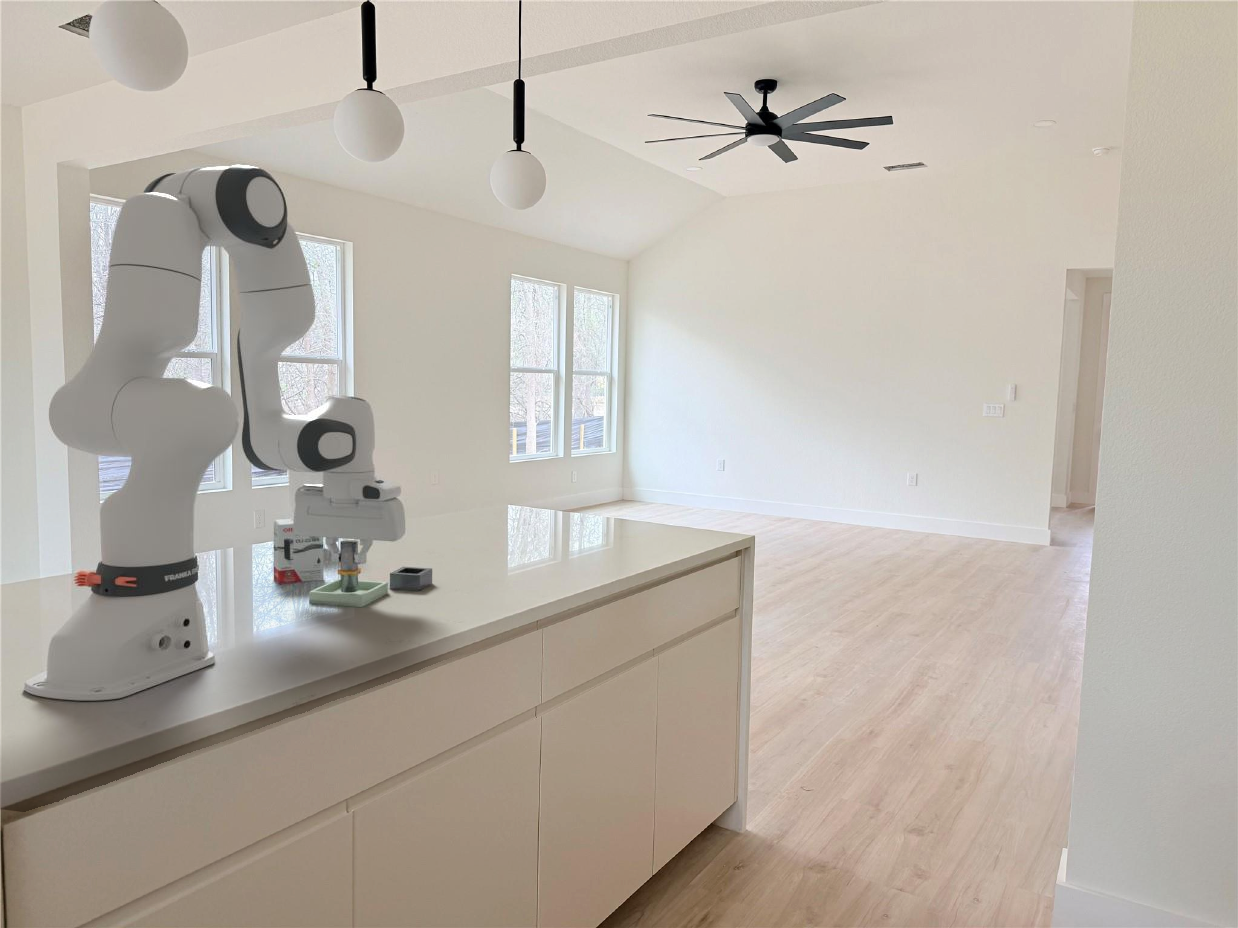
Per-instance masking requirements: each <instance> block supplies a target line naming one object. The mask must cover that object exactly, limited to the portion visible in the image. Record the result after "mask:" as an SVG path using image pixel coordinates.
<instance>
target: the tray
mask: <svg viewBox="0 0 1238 928" xmlns="http://www.w3.org/2000/svg"><path fill="white" fill-rule="evenodd" d="M388 585H389V583H388V581H387V582H386V581H384V582H383V581H373V580H359V579H358V591H357V592H352V593H344V592H341V578H336V579H334V580H332V581H330V582H328V583H325V584H324V585H321V586H319V587H316V588H314V589H312V590H310V591H309V592H308V595H309V596H308V602H309V604H317V605H319V604H320V605H331V606H341V607H342V606H344V607H345V606H346V607H358V608H363V607H365V606H366V605H368V604H370V603H373V602H374V601H376V600H377V599H379V598H381V597H383V596H385V595H387V594H389V586H388Z"/></svg>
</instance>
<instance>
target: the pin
mask: <svg viewBox="0 0 1238 928" xmlns="http://www.w3.org/2000/svg"><path fill="white" fill-rule="evenodd" d="M339 550H340V555H341V562H340V568H337V574H338V575H340V579H341V592H344V593H352V592H357V591H358V580H359V574H361V573H362V569H361V567H359V564H355V562H354V560H355V558H354V554H357V553H359V541H358V540H357V539H346V540H345V539H344V540H342V541H340V549H339Z"/></svg>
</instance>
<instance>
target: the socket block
mask: <svg viewBox="0 0 1238 928" xmlns="http://www.w3.org/2000/svg"><path fill="white" fill-rule="evenodd" d="M432 584H433V568H429V567H428V568H427V567H414V566H413V567H412V566H401V567H400V568H397V569H396V570H393V571H391V572H390V573H389V589H390V590H402V591H414V592H416V591H417V592H421V591H422V590H424V589H427V588H428V587H429V586H431V585H432Z"/></svg>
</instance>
